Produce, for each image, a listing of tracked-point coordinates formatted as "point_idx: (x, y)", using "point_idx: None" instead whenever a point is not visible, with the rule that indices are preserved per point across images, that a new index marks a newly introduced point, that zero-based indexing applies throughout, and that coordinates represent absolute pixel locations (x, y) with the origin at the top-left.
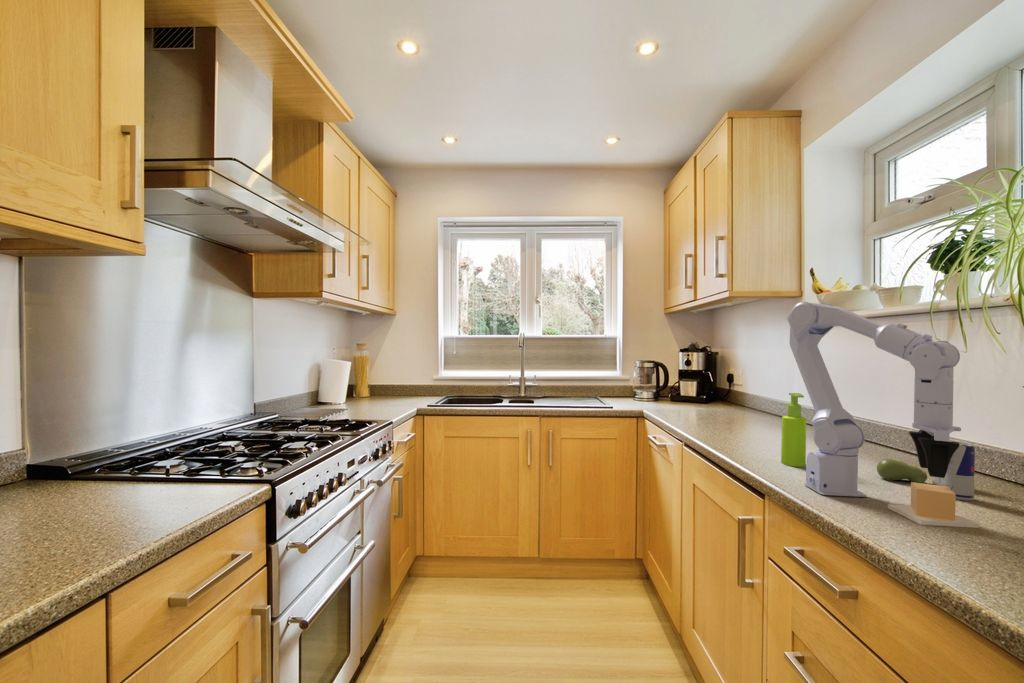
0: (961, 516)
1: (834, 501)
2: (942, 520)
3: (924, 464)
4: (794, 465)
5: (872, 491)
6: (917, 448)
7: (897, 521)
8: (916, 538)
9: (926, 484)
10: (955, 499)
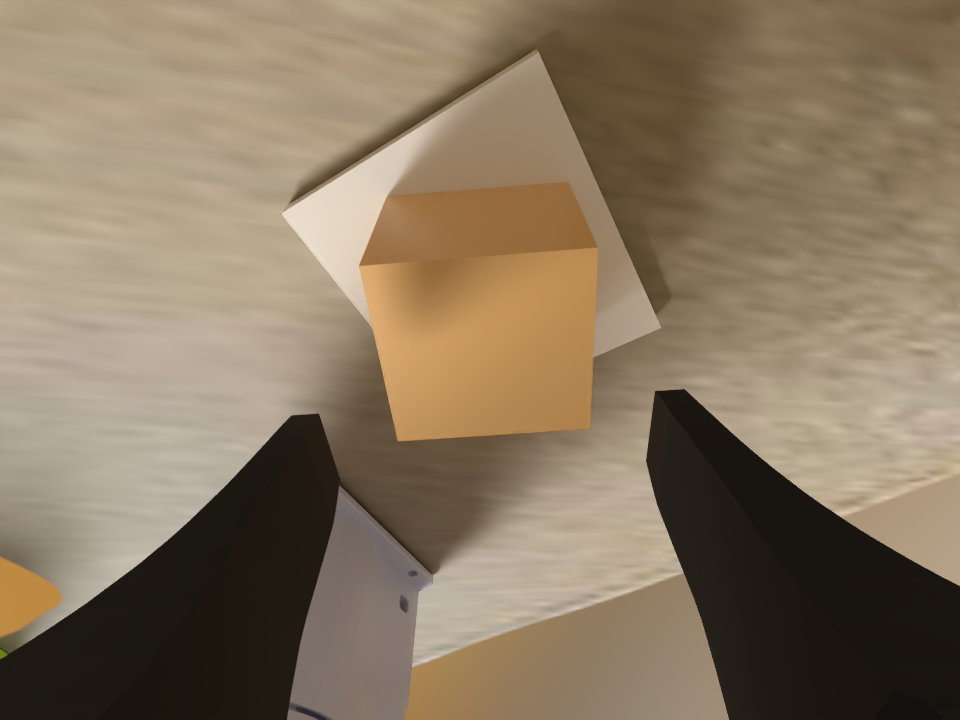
0: (430, 132)
1: (488, 546)
2: (599, 240)
3: (326, 488)
4: (2, 656)
5: (159, 448)
6: (296, 658)
7: (652, 388)
8: (879, 345)
9: (399, 376)
10: (590, 231)
